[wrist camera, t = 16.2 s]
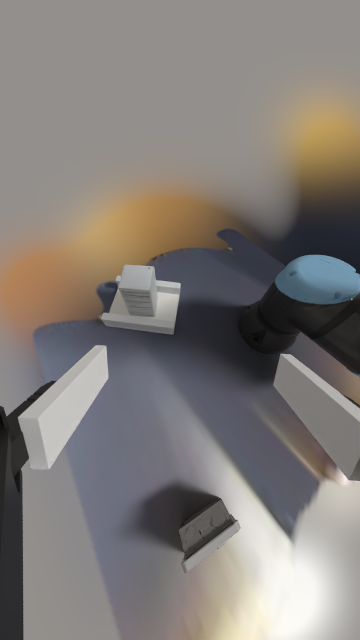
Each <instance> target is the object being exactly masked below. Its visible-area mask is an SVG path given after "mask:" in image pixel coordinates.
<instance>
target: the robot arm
mask: <svg viewBox="0 0 360 640" xmlns="http://www.w3.org/2000/svg"><path fill="white" fill-rule="evenodd" d="M355 272H356V270H355V269H354V268H353V267H352V266H350V265H349V264H347V263H345V262H343V261H341V260H339V259H336V258H333V257H329V256H323V255H306V256H302V257H299V258H297V259H295V260H293V261H292V262H290V263H289V264H288V265H287V266H286V268H285V269H284V270H283V271H282V272H280V273H279V274H278V276H277V277H276V280H275V281H274V283H273V284H272V285H271V287H270V288H269V289H268V291H267V292H266V293H265V295H264V296H263V297H262V299H261V300H259V301H257V302H256V303H254V304H252V305H250V306H249V307H247V308H246V309H245V311H244V312H243V313H242V315H241V317H240V320H239V329H240V332H241V335H242V336H243V338H244V339H245V341H246V342H247V343H248V344H249V345H250V346H251V347H253V348H254V349H256V350H258V351H260V352H263V353H268V354H277V353H280V352H283V351H285V350H286V349H288V348H289V347H291V346H292V345H293V343H294V342H295V340H296V337H297V336H298V334H299V333H300V331H301V332H302V333H304V334H305V335H306V336H307V337H309V338H310V339H311V340H313V341H314V342H315V343H316V344H318V345H319V346H320V347H321V348H323V349H324V350H325V351H326V352H328V353H329V354H330V355H331V356H333V357H334V358H335V359H336V360H338V361H339V362H340V363H342V364H343V365H344V366H345V367H346V368H347V369H348V370H350V371H351V372H352V373H354V374H356V375H358V376H360V275H359V274H357V273H355ZM107 379H108V365H107V351H106V346H103V345H95V346H94V347H93V348H92V349H91V350H90V351H89V352H88V353H87V354H86V355H85V356H84V357H83V358H81V359H80V360H79V361H78V362H77V363H76V364H75V365H74V366H73V367H72V368H71V369H70V370H68V371H67V372H66V373H65V374H64V375H63V376H62V377H61V378H60V379H59V380H58V381H51V382H49V383H47V384H45V385H44V386H42V387H41V388H39V389H38V390H37V391H36V392H35V393H34V394H33V395H31V396H30V397H29V398H28V399H27V401H24V402H23V403H22V404H21V405H20V406H19V407H17V408H16V409H15V410H14V411H13V412H12V413H10V414H9V415H8V416H7V417H6V414H5V411H4V408H3V407H1V406H0V640H23V528H22V527H23V523H22V521H23V519H22V518H23V517H22V516H23V514H22V471H21V468H22V466H23V465H24V464H25V462H26V461H27V460H28V459H29V462H30V467H31V469H48V470H49V469H50V467H51V466H52V464H53V463H54V461H55V460H56V458H57V457H58V455H59V453H60V452H61V450H62V449H63V447H64V446H65V444H66V443H67V441H68V440H69V438H70V436H71V435H72V433H73V432H74V430H75V429H76V427H77V426H78V424H79V422H80V421H81V419H82V418H83V416H84V415H85V413H86V412H87V410H88V409H89V407H90V405H91V404H92V402H93V401H94V399H95V398H96V396H97V395H98V393H99V392H100V390H101V388H102V387H103V385H104V384H105V382H106V381H107ZM273 385H274V387H275V388H276V389H277V390H278V392H279V393H280V394H281V395H282V397H283V398H284V399H285V400H286V402H287V403H288V404H289V405H290V407H291V408H292V409H293V411H294V412H295V413H296V414H297V416H298V417H299V418H300V419H301V421H302V422H303V423H304V424H305V426H306V427H307V428H308V429H309V431H310V432H311V433H312V434H313V436H314V437H315V438H316V439H317V441H318V442H319V443H320V445H321V446H322V447H323V448H324V450H325V451H326V452H327V453H328V455H329V456H330V457H331V458H332V460H333V461H334V462H335V463H336V465H337V466H338V467H339V468H340V470H341V471H342V472H343V473H344V475H345V476H346V477H347V479H348V480H353V481H360V405H358V404H357V403H356V402H354V401H353V400H352V399H350V398H348V397H346V396H345V395H343V394H341V393H339V392H338V391H337V390H335V389H334V388H333V387H331V386H330V385H329V384H328V383H326V382H325V381H324V380H323V379H321V378H320V377H319V376H317V375H316V374H315V373H314V372H312V371H311V370H310V369H309V368H307V367H306V366H305V365H303V364H302V363H301V362H300V361H298V360H297V359H296V358H295V357H293V356H292V355H291V354H280V359H279V363H278V367H277V371H276V376H275V380H274V384H273Z"/></svg>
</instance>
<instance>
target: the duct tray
mask: <svg viewBox="0 0 360 640" xmlns="http://www.w3.org/2000/svg"><path fill="white" fill-rule="evenodd" d="M120 279H121V276H117V279H116V283H117V285H118V287H119V283H120ZM180 284H181V283H174V282H166V281H158V280H156V286H157V294H158V300H157V308H156V315H155V317H147V316H133V315H130V314H129V312H128V309H127V307H126V305H125V303H124V300H123V298H122V295H121V293H120V291H119V288H118V290H117V292H116V295H115V298H114V301H113V303H112V306H111V309H110V311H109V313H103V315H102V317H101V320H102V321H103V323H104V324H105V325H106V326H110V327H118V328H125V329H133V330H141V331H148V332H156V333H164V334H172V335H173V334H174V327H175V321H176V315H177V308H178V302H179V295H180Z"/></svg>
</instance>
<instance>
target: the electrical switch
mask: <svg viewBox="0 0 360 640" xmlns="http://www.w3.org/2000/svg"><path fill="white" fill-rule="evenodd" d="M209 507H210V508H209ZM191 520H192V521H191ZM240 528H241V527H240V525H239V523H238V520H235V519H234V517H233V516H232V514H230V515H229V513H228V511H227V509H226V507H225V505H224V503H223V501H222V499H221V498H219V497H218V498H217V499H215V500H214V501H212V502H211V503H210V504H208V505H207V506H205V507H204V508H203V509H201V510H200V511H198V512H197V513H196V514H194V515H193V516H192V517H190V518H189V519H187V520H186V521H185V522H183V524H181V526H180V528H179V530H178V532H179V535H180V538H181V543H182V547H183V550H184V553H185V555H184V559H183V561H182V563H181V565H182V568H183V571H184V573H186V572H188V571H189V570H190V569H191V568H193V567H194V566H195V565H196V564H198V563H199V562H200V561H201V560H203V559H204V558H205V557H207V556H208V555H209V554H210V553H212V552H213V551H214V550H215V549H219V548H220V547H222V546H223V545H224V544H225V543H226V541H227V540H228V539H229V538H230V537H232V536H233V535H234V534H236V533H237V532H238V531H239V530H240Z"/></svg>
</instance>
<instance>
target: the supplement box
mask: <svg viewBox="0 0 360 640" xmlns="http://www.w3.org/2000/svg"><path fill="white" fill-rule="evenodd" d="M118 288H119V291H120V293H121V295H122V298H123V300H124V303H125V305H126V307H127V309H128V312H129V314H130V315H133V316H147V317H155V315H156V308H157V300H158V294H157V286H156V279H155V271H154V267H151V266H136V265H124V268H123V273H122V275H121V279H120V283H119V287H118Z"/></svg>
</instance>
